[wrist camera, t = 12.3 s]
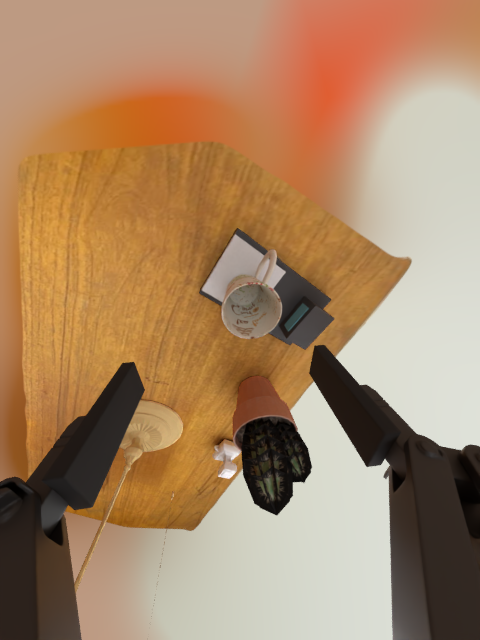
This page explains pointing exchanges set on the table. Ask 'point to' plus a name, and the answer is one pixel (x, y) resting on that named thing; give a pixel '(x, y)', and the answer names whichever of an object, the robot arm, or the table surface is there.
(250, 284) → the mug
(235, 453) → the stamp
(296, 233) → the table surface
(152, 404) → the desk lamp
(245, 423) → the potted plant
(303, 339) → the scale
